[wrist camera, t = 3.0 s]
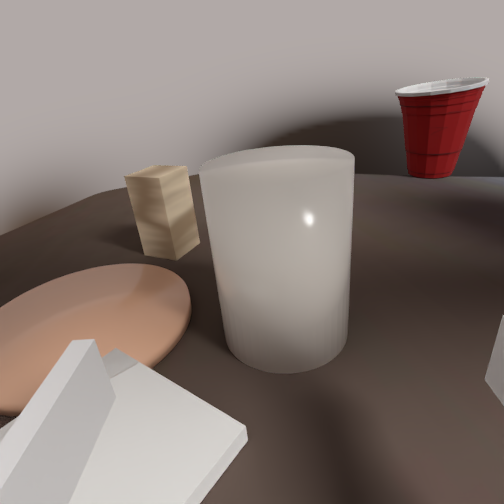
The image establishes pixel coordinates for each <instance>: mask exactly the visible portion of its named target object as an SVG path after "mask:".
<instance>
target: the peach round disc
mask: <svg viewBox="0 0 504 504" xmlns="http://www.w3.org/2000/svg"><path fill="white" fill-rule="evenodd" d="M191 313H192V307H191V300H190V295H189V291H188V288H187V285H186V284H185V282H184V281H183V280H182V279H181V277H180V276H178V275H177V274H175V273H174V272H172V271H170V270H168V269H165V268H162V267H159V266H154V265H148V264H133V263H130V264H114V265H107V266H100V267H95V268H90V269H86V270H82V271H78V272H75V273H72V274H68V275H65V276H62V277H60V278H57V279H54V280H52V281H49V282H47V283H44V284H42V285H40V286H38V287H36V288H33V289H31V290H29V291H27V292H25V293H24V294H22V295H20V296H18V297H16V298H15V299H13V300H11V301H10V302H8V303H7V304H5V305H4V306H2V307H1V308H0V415H5V416H19V415H20V414H21V412H22V411H23V410H24V408H25V407H26V405H27V404H28V402H29V401H30V400H31V398H32V397H33V395H34V394H35V392H36V391H37V390H38V388H39V387H40V385H41V384H42V383H43V381H44V380H45V378H46V377H47V375H48V374H49V373H50V371H51V370H52V368H53V367H54V365H55V364H56V363H57V361H58V360H59V358H60V357H61V355H62V354H63V353H64V351H65V350H66V348H67V347H68V346H69V344H70V343H71V341H72V340H84V339H95V342H96V344H97V347H98V350H99V352H100V355H101V358H102V357H103V356H104V357H105V358H106V356H105V355H106V354H108V353H109V352H111V351H112V350H113V349H115V348H117V349H119V350H120V351H122V353H123V352H124V353H125V354H127V356H128V355H129V356H130V357H132V358H134V359H133V360H137V361H139V362H140V363H142V364H144V365H145V366H147V367H148V368H150V369H152V368H153V367H154V366H156V365H157V364H158V363H159V362H160V361H161V360H163V359H164V358H165V357H166V356H167V355H168V354H169V353H170V352H171V351H172V350H173V348H174V347H175V346H176V345H177V343H178V342H179V341H180V339H181V338H182V336H183V334H184V333H185V331H186V329H187V327H188V324H189V322H190V318H191ZM117 351H118V350H117ZM112 352H113V351H112ZM122 353H121V354H122ZM111 354H112V356H113V353H111ZM116 354H117V353H116ZM119 354H120V352H119ZM125 354H123V355H125ZM109 355H110V354H109ZM114 355H115V354H114ZM117 356H118V355H117ZM113 357H114V356H113ZM119 357H120V356H119ZM119 357H117V358H119ZM107 358H108V356H107ZM121 358H122V357H121ZM132 358H131V359H132ZM103 359H104V358H103ZM123 359H124V358H123ZM126 359H127V358H125V360H126ZM105 360H106V359H105ZM108 360H109V359H108ZM108 360H107V361H108ZM129 360H130V359H129ZM113 361H114V359H113ZM116 361H117V359H116ZM118 361H119V359H118ZM110 362H112V360H111V361H110ZM110 362H109V363H110ZM114 362H115V361H114ZM120 362H122V361H121V360H120ZM123 362H124V361H123ZM130 362H131V361H130ZM115 363H116V362H115ZM124 363H125V362H124ZM128 363H129V362H128ZM134 363H135V362H134ZM137 363H138V362H137ZM137 363H136V364H137ZM111 364H112V363H111ZM136 364H135V365H136ZM105 366H106V365H105ZM109 366H110V365H109ZM111 366H112V365H111ZM113 366H114V365H113ZM115 366H116V365H115ZM124 366H125V364H124ZM129 367H130V366H129ZM132 367H133V366H132ZM111 368H112V367H111ZM114 368H115V367H114ZM130 368H131V367H130ZM106 369H107V368H106ZM117 369H118V368H117ZM117 369H116V370H117ZM122 369H123V368H122ZM122 369H121V370H122ZM127 369H128V368H127ZM127 369H125V370H127ZM108 370H109V369H108ZM116 370H115V372H116ZM119 370H120V366H119ZM112 371H113V370H112ZM117 371H118V370H117ZM123 372H124V371H123ZM121 373H122V371H121ZM110 374H111V373H110ZM118 374H119V373H117V375H118ZM117 375H115V376H117ZM112 377H113V376H112Z"/></svg>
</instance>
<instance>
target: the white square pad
mask: <svg viewBox="0 0 504 504" xmlns="http://www.w3.org/2000/svg"><path fill="white" fill-rule="evenodd" d="M117 350H118V351H117ZM112 351H113V352H112ZM112 351H111V352H109V353H108V354H106V355H105V356H106V358H105V357H104V356H103V357H102V360H103V363H104V366H105V365H106V366H105V369H106V368H107V369H106V371H107V374H108V377H109V379H110V382H111V385H112V387H113V390H114V393H115V395H116V399H115V401H114V403H113V405H112V408H111V410H110V412H109V414H108V417H107V419H106V421H105V423H104V426H103V428H102V430H101V432H100V435H99V437H98V439H97V441H96V444H95V446H94V448H93V450H92V453H91V455H90V457H89V459H88V462H87V464H86V466H85V468H84V471H83V473H82V475H81V477H80V480H79V482H78V484H77V486H76V489H75V491H74V493H73V495H72V498H71V500H70V502H69V504H200V503H201V501H202V500H203V499H204V497H205V496H206V495H207V494H208V492H209V491H210V490H211V488H212V487H213V486H214V484H215V483H216V482H217V480H218V479H219V478H220V476H221V475H222V474H223V473H224V471H225V470H226V469H227V467H228V466H229V465H230V463H231V462H232V461H233V459H234V458H235V457H236V455H237V454H238V453H239V451H240V450H241V449H242V448H243V446H244V445H245V444H246V442H247V441H248V438H247V431H246V426H245V425H243V424H241V423H240V422H238V421H236V420H235V419H233V418H231V417H230V416H228V415H227V414H225V413H223V412H222V411H220V410H218V409H217V408H215V407H213V406H212V405H210V404H208V403H207V402H205V401H203V400H202V399H200V398H198V397H197V396H195V395H193V394H192V393H190V392H188V391H187V390H185V389H183V388H182V387H180V386H178V385H177V384H175V383H173V382H172V381H170V380H168V379H167V378H165V377H163V376H162V375H160V374H158V373H157V372H155V371H153V370H152V369H150V368H148V367H147V366H145V365H144V364H142V363H140V362H139V361H137V360H133V359H134V358H132V357H130V356H129V355H128V356H127V354H125V353H124V352H123V353H122V351H120V350H119V349H117V348H115V349H113V350H112ZM119 352H120V354H119ZM111 353H113V356H114V357H113V356H112V354H111ZM116 353H117V354H116ZM121 353H122V354H121ZM109 354H110V355H109ZM114 354H115V355H114ZM123 354H125V355H123ZM117 355H118V356H117ZM107 356H108V358H107ZM119 356H120V357H119ZM117 357H119V358H117ZM121 357H122V358H121ZM103 358H104V359H103ZM123 358H124V359H123ZM125 358H127V359H126V360H125ZM131 358H132V359H131ZM105 359H106V360H105ZM108 359H109V360H108ZM113 359H114V361H115V362H116V363H115V362H114V361H113ZM116 359H117V361H116ZM118 359H119V361H118ZM129 359H130V360H129ZM107 360H108V361H107ZM111 360H112V362H110V361H111ZM120 360H121V361H122V362H120ZM123 361H124V362H125V363H124V362H123ZM130 361H131V362H130ZM109 362H110V363H109ZM128 362H129V363H128ZM134 362H135V363H134ZM137 362H138V363H137ZM111 363H112V364H111ZM136 363H137V364H136ZM124 364H125V366H124ZM135 364H136V365H135ZM109 365H110V366H109ZM111 365H112V366H111ZM113 365H114V366H113ZM115 365H116V366H115ZM119 366H120V370H119ZM129 366H130V367H131V368H130V367H129ZM132 366H133V367H132ZM111 367H112V368H111ZM114 367H115V368H114ZM117 368H118V369H117ZM122 368H123V369H122ZM127 368H128V369H127ZM108 369H109V370H108ZM116 369H117V370H118V371H117V370H116ZM121 369H122V370H121ZM125 369H127V370H125ZM112 370H113V371H112ZM115 370H116V372H115ZM121 371H122V373H121ZM123 371H124V372H123ZM110 373H111V374H110ZM117 373H119V374H118V375H117ZM115 375H117V376H115ZM112 376H113V377H112ZM18 417H19V416H18ZM18 417H17V418H18ZM17 418H15V419H14V420H12V421H11V422H9V423H8V424H7V425H5V426H4V427H2V428H1V429H0V442H1V441H2V439H3V438H4V437H5V435H6V434H7V432H8V431H9V429H10V428H11V427H12V425H13V424H14V422H15V421H16V419H17Z"/></svg>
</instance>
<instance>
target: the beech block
mask: <svg viewBox="0 0 504 504" xmlns="http://www.w3.org/2000/svg"><path fill="white" fill-rule="evenodd" d="M124 177H125V181H126V185H127V189H128V193H129V196H130V200H131V204H132V208H133V212H134V216H135V220H136V224H137V228H138V231H139V235H140V239H141V243H142V247H143V251H144V255H146V256H152V257H158V258H164V259H170V260H176V261H177V260H178V259H180V258H181V257H182V256H183V255H185V254H186V253H187V252H189V251H190V250H191V249H193V248H194V247H195V246H197V245H198V244H199V243H200V240H199V234H198V229H197V223H196V217H195V211H194V206H193V200H192V194H191V188H190V183H189V177H188V171H187V166H161V165H158V166H157V165H154V166H150V167H148V168H145V169H143V170H140V171H138V172H135V173H132V174H129V175H127V176H124Z"/></svg>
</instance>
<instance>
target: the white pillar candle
mask: <svg viewBox="0 0 504 504" xmlns="http://www.w3.org/2000/svg"><path fill="white" fill-rule="evenodd" d="M354 162H355V157H354V155H352V154H351V153H350V152H348V151H345V150H342V149H338V148H332V147H324V146H308V145H302V146H301V145H295V146H276V147H265V148H257V149H251V150H245V151H239V152H235V153H231V154H227V155H223V156H220V157H217V158H214V159H212V160H209V161H207V162H206V163H204V164H203V165H201V167H200V168H199V176H200V182H201V188H202V195H203V201H204V207H205V213H206V220H207V226H208V232H209V238H210V245H211V251H212V257H213V263H214V270H215V276H216V282H217V288H218V295H219V301H220V307H221V313H222V320H223V326H224V332H225V338H226V343H227V346H228V348H229V349H230V351H231V352H232V354H233V355H234V356H235V357H236V358H237V359H239V360H240V361H241V362H243V363H244V364H246V365H248V366H250V367H252V368H254V369H257V370H261V371H264V372H269V373H277V374H293V373H301V372H306V371H310V370H313V369H316V368H318V367H321V366H323V365H325V364H326V363H328V362H330V361H331V360H332V359H334V358H335V357H336V356H337V355H338V354H339V353H340V352H341V351H342V349H343V347H344V346H345V343H346V341H347V336H348V315H349V290H350V265H351V240H352V215H353V190H354V165H355V163H354Z"/></svg>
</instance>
